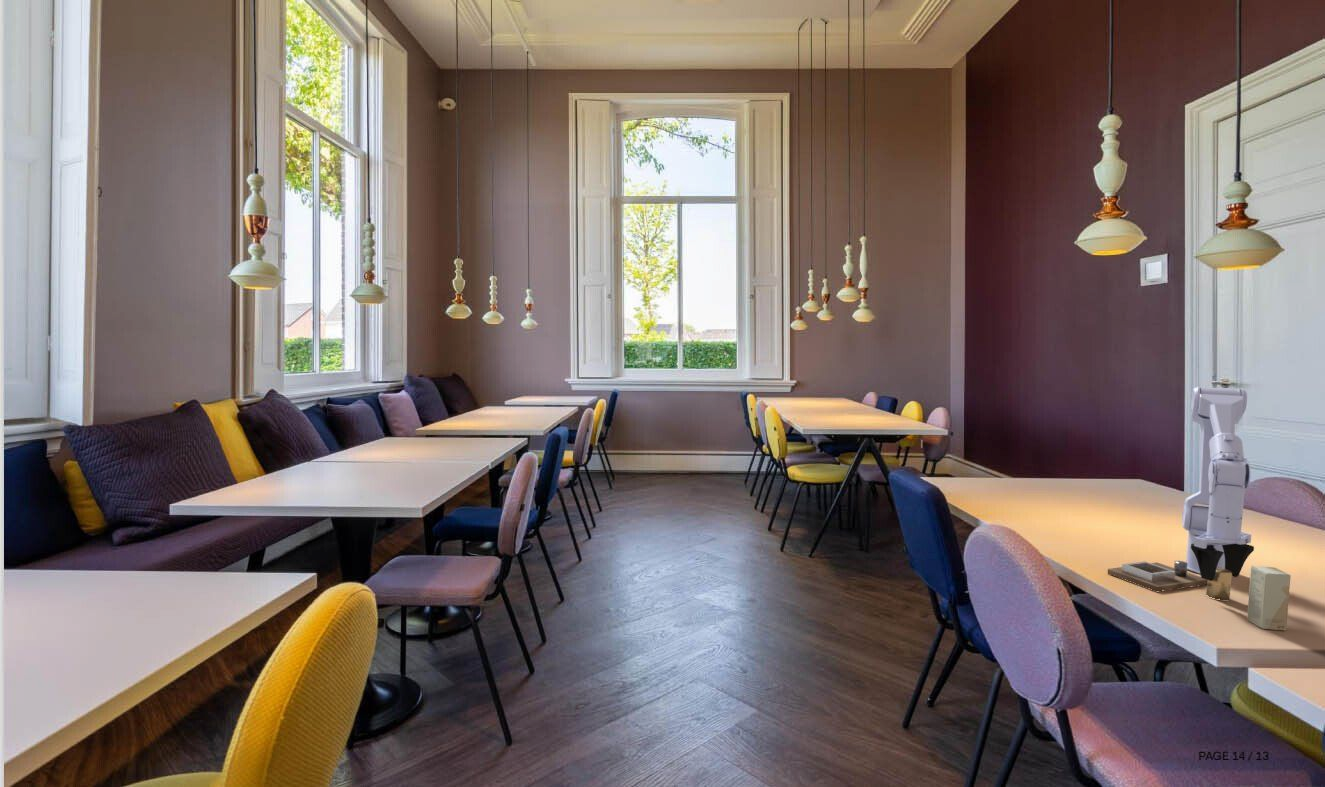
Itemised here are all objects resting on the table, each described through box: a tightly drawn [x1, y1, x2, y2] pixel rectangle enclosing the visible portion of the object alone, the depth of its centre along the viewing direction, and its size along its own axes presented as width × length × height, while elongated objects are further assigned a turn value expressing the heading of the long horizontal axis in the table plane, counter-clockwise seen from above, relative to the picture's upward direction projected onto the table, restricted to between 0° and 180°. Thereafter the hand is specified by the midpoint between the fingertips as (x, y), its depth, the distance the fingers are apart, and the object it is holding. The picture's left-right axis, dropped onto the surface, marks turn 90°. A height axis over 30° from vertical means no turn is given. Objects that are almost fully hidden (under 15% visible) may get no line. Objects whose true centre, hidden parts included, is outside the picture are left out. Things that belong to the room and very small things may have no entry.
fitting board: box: [1107, 560, 1207, 592], centre depth 164 cm, size 16×12×4 cm
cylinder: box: [1205, 568, 1233, 601], centre depth 153 cm, size 4×4×6 cm
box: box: [1246, 565, 1292, 631], centre depth 138 cm, size 5×4×11 cm
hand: (1219, 577), depth 153 cm, fingers open, 7 cm apart
